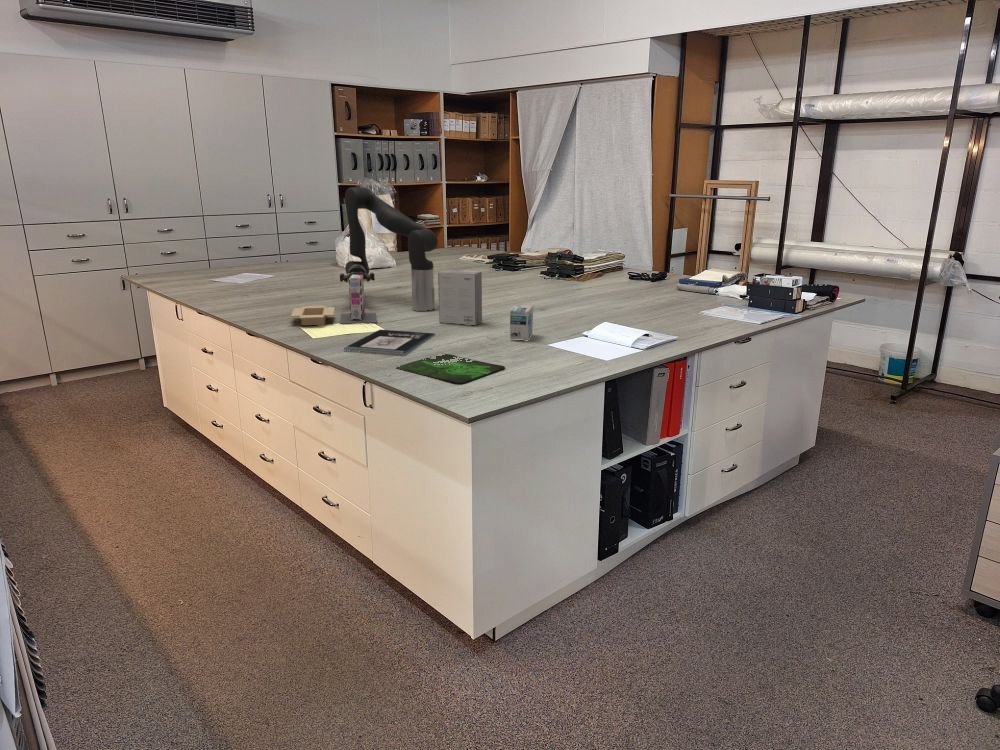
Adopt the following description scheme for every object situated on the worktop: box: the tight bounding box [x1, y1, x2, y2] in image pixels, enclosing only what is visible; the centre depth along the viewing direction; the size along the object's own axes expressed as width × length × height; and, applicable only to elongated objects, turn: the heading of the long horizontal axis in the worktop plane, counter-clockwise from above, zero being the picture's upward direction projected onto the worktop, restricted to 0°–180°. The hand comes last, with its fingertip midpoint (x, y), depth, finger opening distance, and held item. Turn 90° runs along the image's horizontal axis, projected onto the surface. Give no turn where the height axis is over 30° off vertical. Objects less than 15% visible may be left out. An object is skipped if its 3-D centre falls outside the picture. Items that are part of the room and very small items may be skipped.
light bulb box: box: [509, 304, 534, 341], centre depth 240 cm, size 11×7×11 cm, turn 169°
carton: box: [290, 305, 335, 326], centre depth 262 cm, size 16×22×4 cm
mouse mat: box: [395, 353, 506, 385], centre depth 204 cm, size 27×22×1 cm
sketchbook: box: [343, 329, 436, 357], centre depth 232 cm, size 22×30×2 cm
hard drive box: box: [437, 269, 483, 326], centre depth 260 cm, size 16×8×20 cm, turn 71°
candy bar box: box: [348, 275, 366, 320], centre depth 266 cm, size 11×5×16 cm, turn 7°
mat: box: [339, 312, 378, 325], centre depth 268 cm, size 14×18×1 cm
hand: (357, 279), depth 277 cm, fingers open, 8 cm apart
